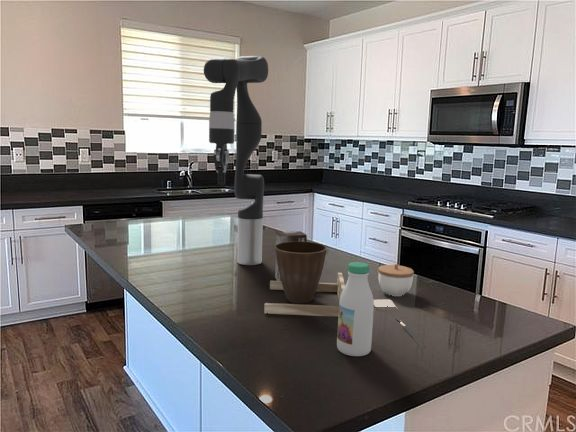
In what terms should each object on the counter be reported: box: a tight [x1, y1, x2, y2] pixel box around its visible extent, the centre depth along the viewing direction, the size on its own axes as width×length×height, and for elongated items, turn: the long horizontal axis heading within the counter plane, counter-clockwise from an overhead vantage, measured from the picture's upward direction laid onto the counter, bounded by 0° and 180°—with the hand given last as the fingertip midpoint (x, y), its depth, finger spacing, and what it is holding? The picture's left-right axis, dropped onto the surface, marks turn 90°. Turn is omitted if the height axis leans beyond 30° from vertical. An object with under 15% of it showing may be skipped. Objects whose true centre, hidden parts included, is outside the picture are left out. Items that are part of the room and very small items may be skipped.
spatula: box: [373, 298, 423, 345], centre depth 121 cm, size 6×29×2 cm, turn 8°
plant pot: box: [274, 241, 328, 305], centre depth 134 cm, size 15×15×16 cm
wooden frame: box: [263, 272, 346, 317], centre depth 134 cm, size 21×22×6 cm
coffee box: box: [274, 231, 308, 281], centre depth 153 cm, size 9×6×16 cm
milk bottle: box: [336, 261, 375, 357], centre depth 103 cm, size 8×8×20 cm
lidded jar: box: [377, 263, 415, 297], centre depth 143 cm, size 11×11×9 cm
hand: (221, 184), depth 142 cm, fingers closed
